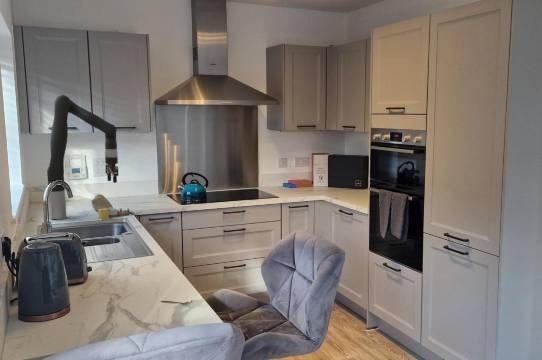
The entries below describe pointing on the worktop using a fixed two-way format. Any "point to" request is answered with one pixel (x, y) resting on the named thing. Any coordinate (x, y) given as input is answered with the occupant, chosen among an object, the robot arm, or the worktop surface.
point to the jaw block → (103, 214)
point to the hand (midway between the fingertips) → (112, 181)
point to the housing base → (121, 213)
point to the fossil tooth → (100, 202)
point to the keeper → (112, 211)
